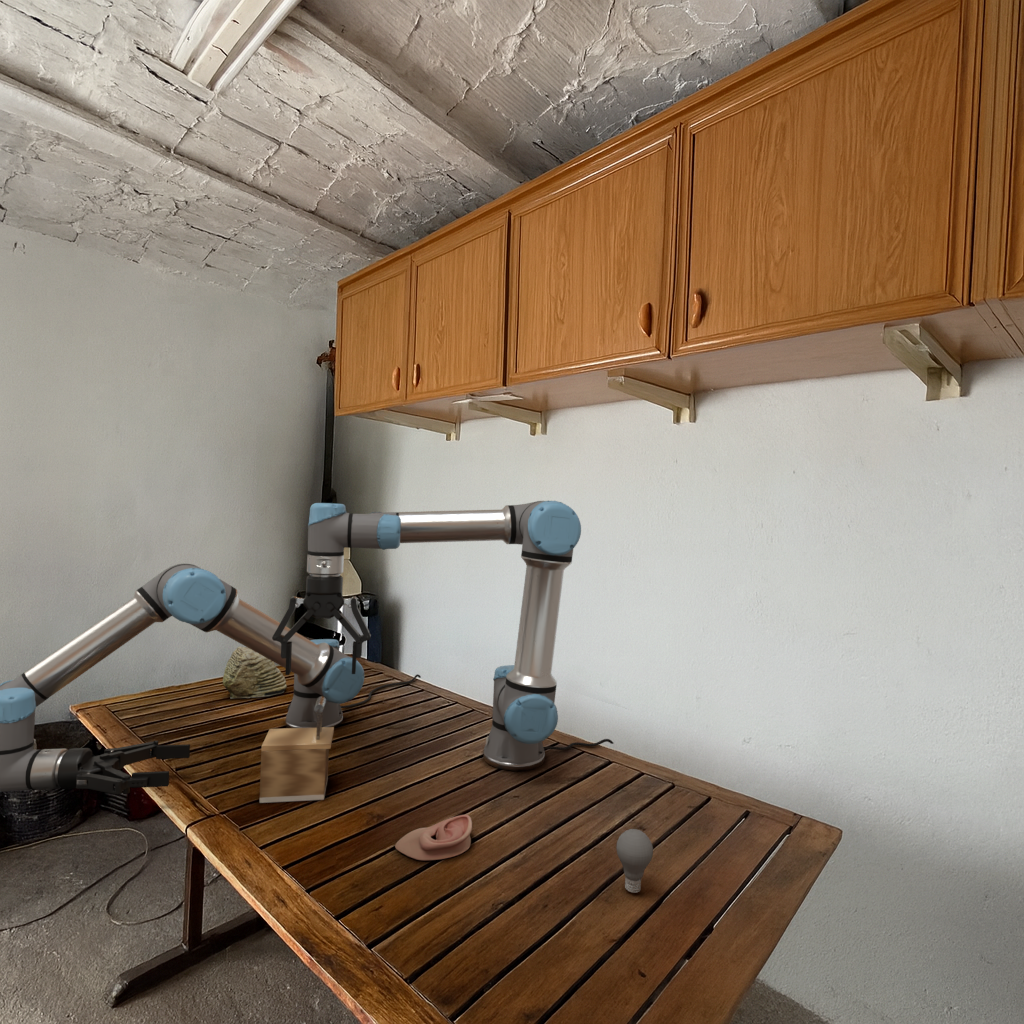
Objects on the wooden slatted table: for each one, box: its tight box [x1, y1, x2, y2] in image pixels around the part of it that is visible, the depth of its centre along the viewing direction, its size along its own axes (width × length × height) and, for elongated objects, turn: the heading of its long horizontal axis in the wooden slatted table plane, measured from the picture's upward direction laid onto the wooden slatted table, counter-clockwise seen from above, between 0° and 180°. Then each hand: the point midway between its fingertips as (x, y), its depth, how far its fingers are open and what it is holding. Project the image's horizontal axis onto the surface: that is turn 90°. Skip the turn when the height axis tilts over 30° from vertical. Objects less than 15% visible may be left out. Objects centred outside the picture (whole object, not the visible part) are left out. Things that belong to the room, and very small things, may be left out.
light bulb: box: [615, 828, 654, 894], centre depth 106 cm, size 6×6×10 cm
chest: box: [258, 749, 330, 804], centre depth 136 cm, size 13×10×11 cm
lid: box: [260, 696, 335, 752], centre depth 136 cm, size 14×10×9 cm
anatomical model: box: [394, 814, 473, 861], centre depth 117 cm, size 13×4×12 cm
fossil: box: [222, 646, 288, 699], centre depth 198 cm, size 9×18×15 cm, turn 132°
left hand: (179, 764), depth 131 cm, fingers open, 13 cm apart
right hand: (321, 673), depth 137 cm, fingers open, 13 cm apart
